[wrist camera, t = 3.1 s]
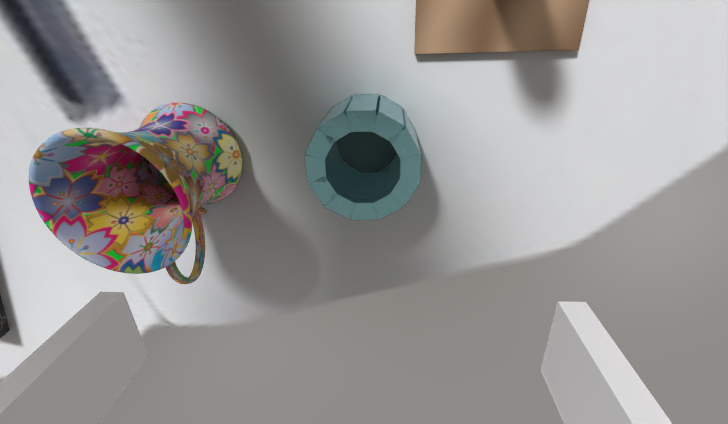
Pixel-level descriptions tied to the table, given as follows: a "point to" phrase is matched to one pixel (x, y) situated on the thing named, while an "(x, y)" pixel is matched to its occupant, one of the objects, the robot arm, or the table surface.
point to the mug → (136, 188)
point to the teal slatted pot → (364, 189)
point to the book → (3, 320)
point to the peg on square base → (498, 25)
